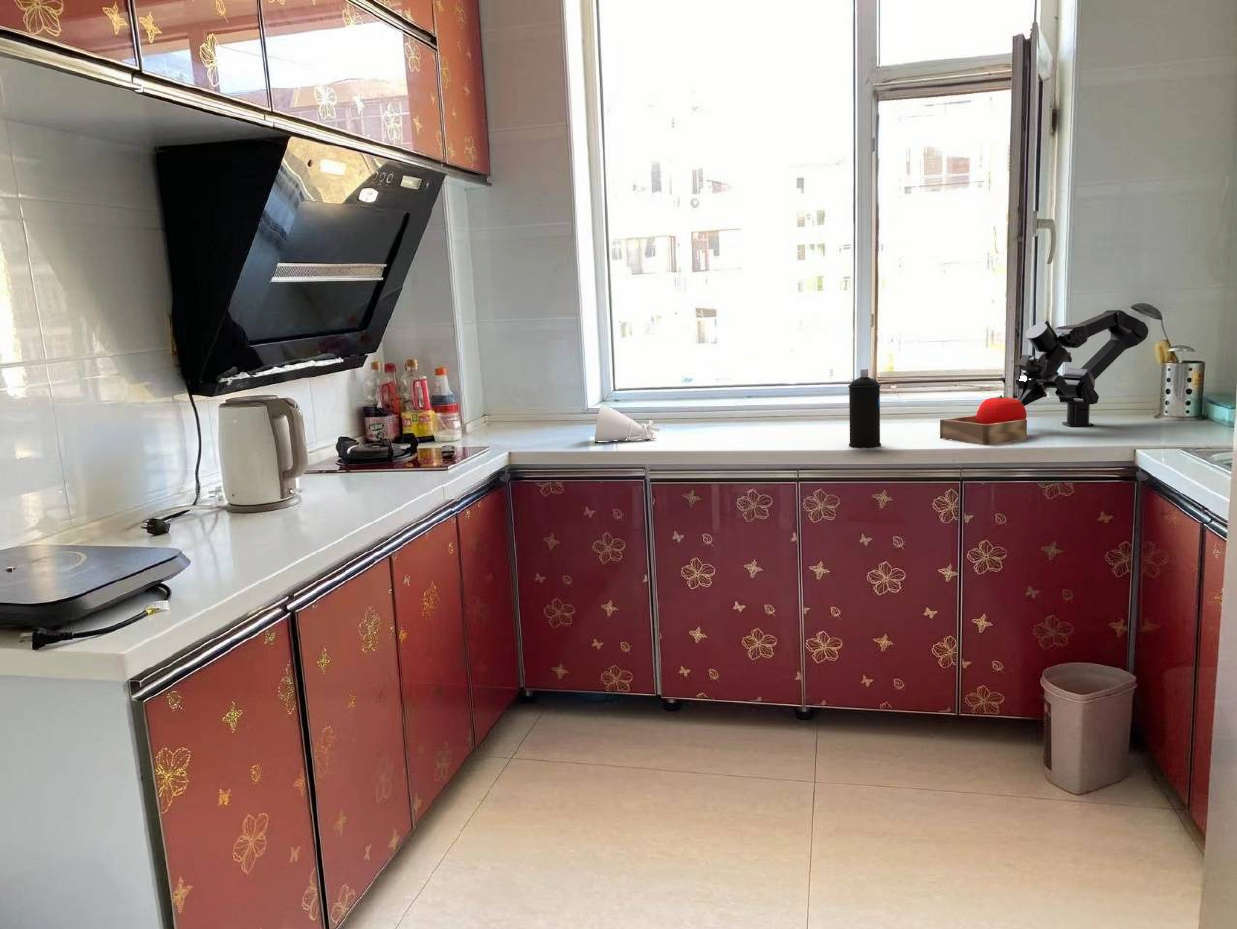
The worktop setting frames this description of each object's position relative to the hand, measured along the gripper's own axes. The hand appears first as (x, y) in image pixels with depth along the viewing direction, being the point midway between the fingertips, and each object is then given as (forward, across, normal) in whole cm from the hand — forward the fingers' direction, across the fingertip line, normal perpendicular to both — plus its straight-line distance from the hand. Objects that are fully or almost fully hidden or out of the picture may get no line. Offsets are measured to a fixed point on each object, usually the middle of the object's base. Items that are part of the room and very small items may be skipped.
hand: (1017, 407), depth 258 cm
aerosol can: (+35, -12, -24) cm, 44 cm away
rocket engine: (+67, -65, -54) cm, 108 cm away
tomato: (+9, 0, +1) cm, 9 cm away
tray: (+13, 0, -3) cm, 14 cm away
